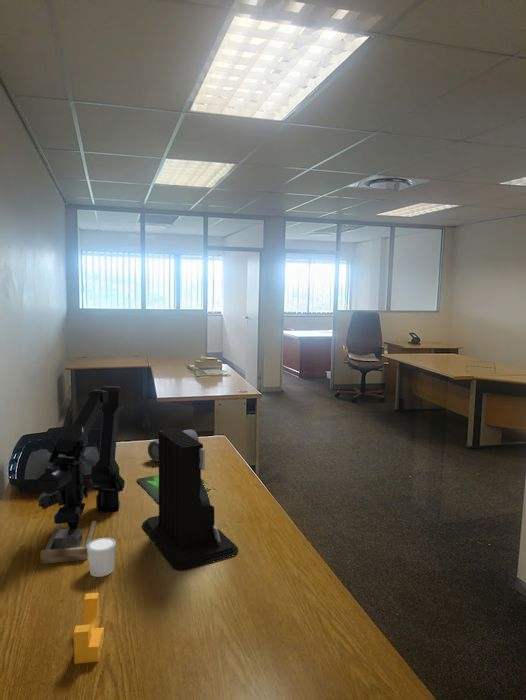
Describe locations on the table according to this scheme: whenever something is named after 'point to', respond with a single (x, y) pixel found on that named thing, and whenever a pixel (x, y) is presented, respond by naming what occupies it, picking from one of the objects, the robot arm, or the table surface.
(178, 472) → the award
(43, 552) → the brown u-shaped frame
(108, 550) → the white cylinder
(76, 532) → the block
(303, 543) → the table surface
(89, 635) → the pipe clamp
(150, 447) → the bluetooth speaker
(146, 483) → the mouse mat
